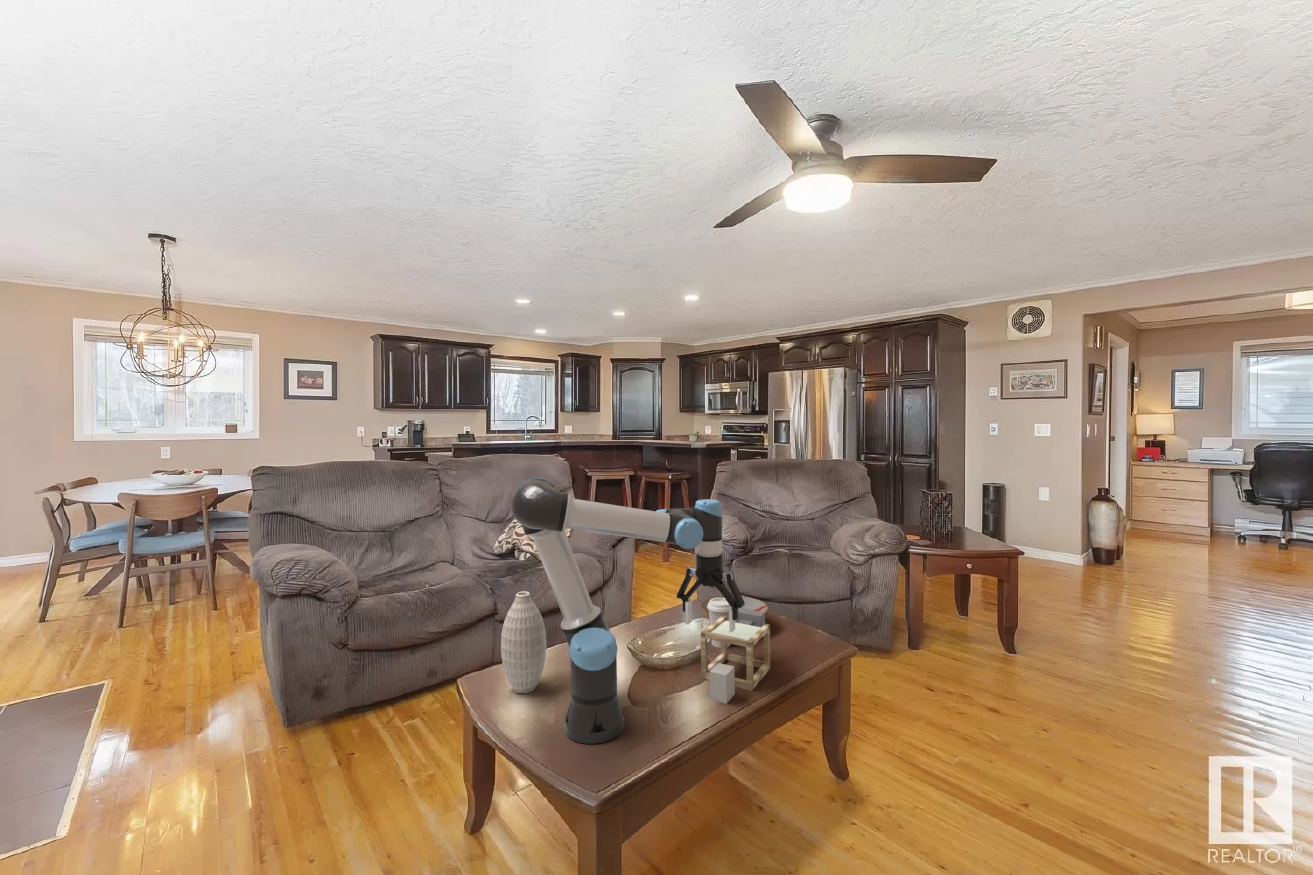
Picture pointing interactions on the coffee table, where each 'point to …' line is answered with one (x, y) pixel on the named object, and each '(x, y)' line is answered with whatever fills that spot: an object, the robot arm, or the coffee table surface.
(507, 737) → the coffee table surface
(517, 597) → the vase
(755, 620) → the trapdoor
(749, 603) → the bowl
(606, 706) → the robot arm
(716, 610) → the coffee cup
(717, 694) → the light gray block
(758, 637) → the maple stand
